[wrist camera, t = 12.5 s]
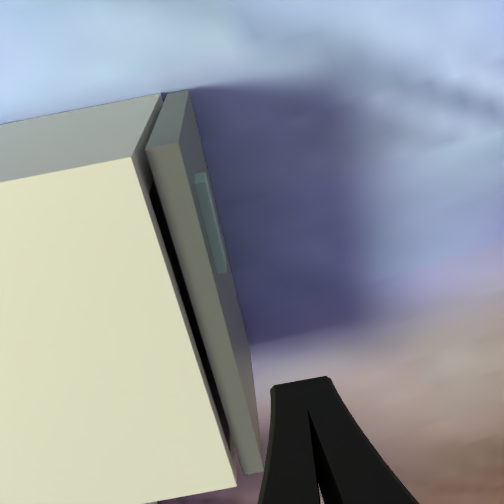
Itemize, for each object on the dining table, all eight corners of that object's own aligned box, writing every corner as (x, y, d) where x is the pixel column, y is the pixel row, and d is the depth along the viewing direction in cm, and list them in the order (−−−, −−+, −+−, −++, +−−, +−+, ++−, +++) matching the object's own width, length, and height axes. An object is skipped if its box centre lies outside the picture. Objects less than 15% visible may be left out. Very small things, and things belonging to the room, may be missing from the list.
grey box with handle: (256, 350, 23) (272, 470, 17) (68, 385, 23) (22, 515, 17) (197, 87, 16) (190, 140, 11) (-67, 139, 16) (-213, 218, 11)
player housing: (229, 350, 23) (237, 486, 17) (40, 385, 23) (-23, 534, 17) (160, 92, 17) (130, 157, 10) (-102, 144, 17) (-292, 239, 10)
